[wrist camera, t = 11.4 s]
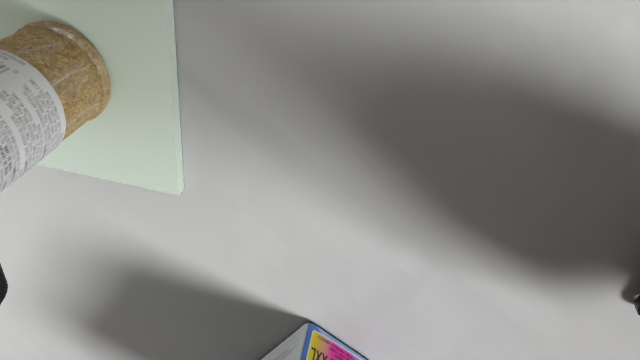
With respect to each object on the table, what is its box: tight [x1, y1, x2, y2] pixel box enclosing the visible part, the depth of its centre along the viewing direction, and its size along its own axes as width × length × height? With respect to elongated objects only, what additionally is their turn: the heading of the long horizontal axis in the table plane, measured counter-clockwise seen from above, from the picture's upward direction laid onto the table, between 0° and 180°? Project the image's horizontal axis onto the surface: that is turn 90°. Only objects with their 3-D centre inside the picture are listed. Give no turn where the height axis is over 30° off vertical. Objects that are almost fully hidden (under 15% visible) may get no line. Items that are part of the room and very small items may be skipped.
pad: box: [0, 0, 184, 196], centre depth 22 cm, size 10×10×1 cm
